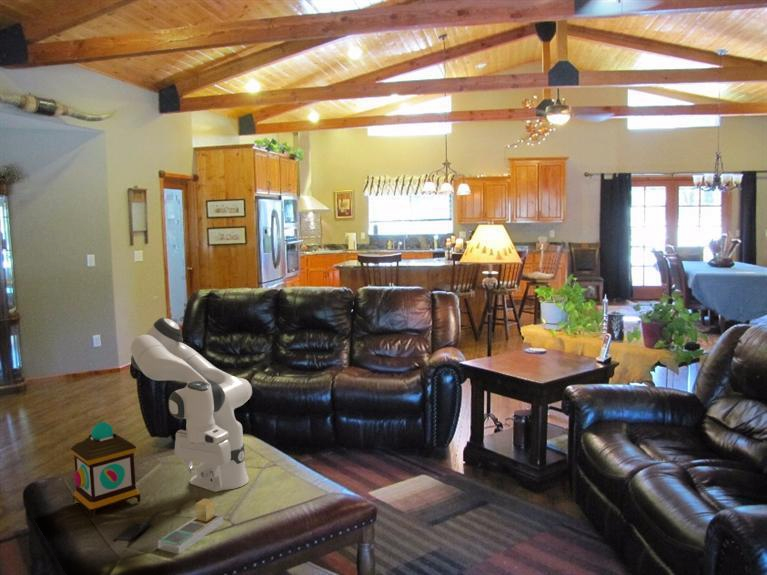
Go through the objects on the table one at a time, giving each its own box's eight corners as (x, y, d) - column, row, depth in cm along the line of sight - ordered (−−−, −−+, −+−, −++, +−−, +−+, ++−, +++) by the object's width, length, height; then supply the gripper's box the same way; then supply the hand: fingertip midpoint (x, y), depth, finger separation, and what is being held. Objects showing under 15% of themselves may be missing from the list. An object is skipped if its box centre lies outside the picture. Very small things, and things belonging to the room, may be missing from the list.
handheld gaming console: (126, 521, 205) (142, 499, 203) (145, 532, 206) (161, 511, 204) (111, 543, 194) (127, 521, 192) (130, 555, 195) (147, 533, 193)
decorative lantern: (124, 487, 236) (119, 410, 233) (146, 503, 222) (141, 421, 219) (67, 504, 222) (61, 422, 219) (88, 522, 208) (81, 435, 205)
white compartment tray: (158, 550, 189) (157, 540, 189) (203, 520, 208) (203, 510, 208) (179, 555, 186) (178, 545, 185) (223, 524, 205) (223, 514, 205)
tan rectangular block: (196, 527, 202) (195, 503, 201) (205, 521, 206) (203, 498, 205) (206, 529, 200) (205, 505, 199) (215, 523, 204) (214, 500, 203)
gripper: (168, 432, 201) (171, 473, 202) (220, 439, 193) (222, 482, 194) (182, 426, 207) (184, 466, 208) (232, 433, 199) (234, 474, 200)
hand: (203, 474), depth 201 cm, fingers open, 8 cm apart
